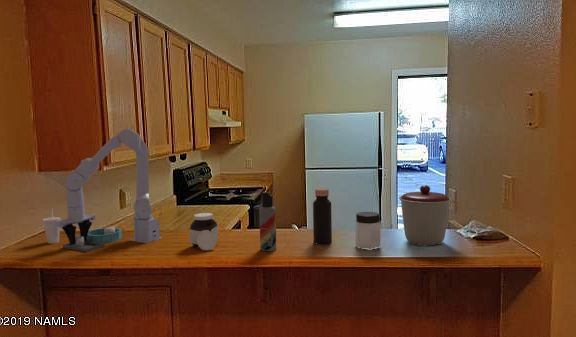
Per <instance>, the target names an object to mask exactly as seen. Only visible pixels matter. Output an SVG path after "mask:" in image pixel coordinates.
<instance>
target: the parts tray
mask: <svg viewBox="0 0 576 337" xmlns="http://www.w3.org/2000/svg"><path fill="white" fill-rule="evenodd" d="M105 244H106V243H96V242H90V241H84V246H83V247H75V246H72V244H70V242H68V243H65V244H62V248H63V249H68V250H72V251H73V250H74V251H78V252H84V253H85V252H86V253H89V252H92V251H96V250H99V249H102V248H105V246H106V245H105Z"/></svg>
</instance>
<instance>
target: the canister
mask: <svg viewBox="0 0 576 337" xmlns="http://www.w3.org/2000/svg"><path fill="white" fill-rule="evenodd" d="M398 199H399V200H400V204H401V215H402V223H403V229H404V235H405V239H406V240H407V241H408V242H409V243H410V242H411V244H412V243H414V244H413V245H416V244H419V245H418V246H422V245H434V244H438V245H440V244H439V243H441V242H442V243H443V242H444V240H445V239H446V238H445V237H446V232H447V226H448V217H449V211H450V210H449V209H450V203H451V202H452V198H451V197H449V196H448V195H447V194H445V193H441V192H437V191H436V192H435V191H431V186H430V185H427V184H426V185H425V184H424V185H421V186H420V187H419V191H412V192H411V191H410V192H406V193H403V194H402V195H400V196H399V197H398ZM442 243H441V244H442ZM434 246H435V245H434Z"/></svg>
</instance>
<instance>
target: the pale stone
mask: <svg viewBox="0 0 576 337" xmlns="http://www.w3.org/2000/svg"><path fill="white" fill-rule="evenodd" d="M103 228H104V235H105V234H111V233H115V228H116V227H115V226H107V227H103Z"/></svg>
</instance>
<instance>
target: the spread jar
mask: <svg viewBox="0 0 576 337" xmlns="http://www.w3.org/2000/svg"><path fill="white" fill-rule="evenodd" d="M213 215H214V214H213V213H210V212H200V213H195V214H193V221H192V222H191V223H190V226H189V241H190V244H191V245H192V246H194V247H195V248H197V247H200V248H199V249H201V250H203V251H211V250H212V249H214V248H215V247H216V245H217V242H218V239H219V226H218V223H217V222H216V220H215V219H214V216H213Z"/></svg>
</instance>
